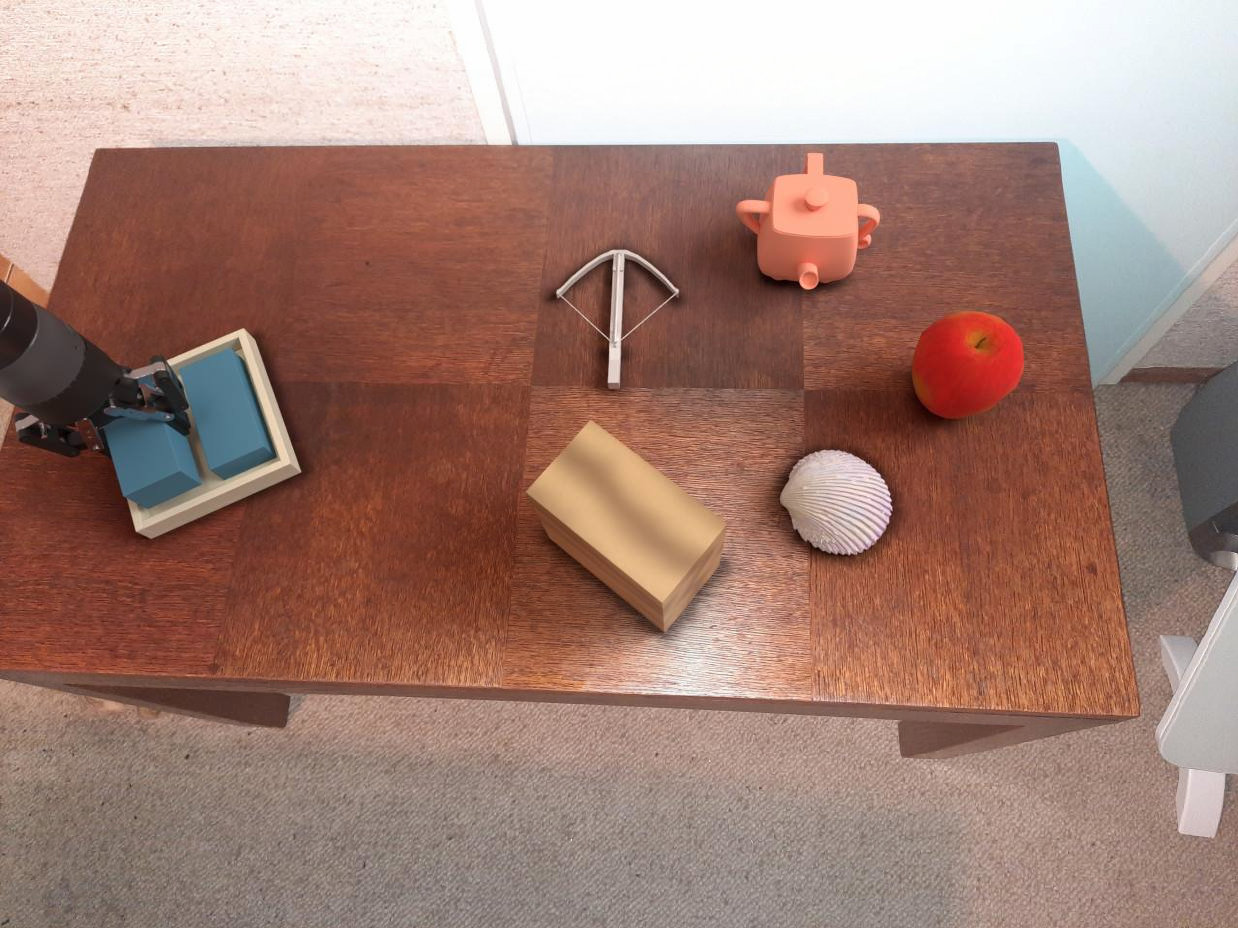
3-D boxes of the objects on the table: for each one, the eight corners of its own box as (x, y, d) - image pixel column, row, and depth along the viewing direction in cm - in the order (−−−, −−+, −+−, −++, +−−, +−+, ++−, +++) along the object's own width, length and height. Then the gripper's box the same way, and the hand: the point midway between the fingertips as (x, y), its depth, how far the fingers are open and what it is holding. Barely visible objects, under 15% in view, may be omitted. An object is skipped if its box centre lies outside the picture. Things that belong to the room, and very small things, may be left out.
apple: (1005, 374, 84) (1056, 311, 72) (976, 452, 81) (1024, 400, 70) (913, 339, 86) (949, 273, 74) (882, 415, 83) (914, 358, 72)
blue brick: (225, 480, 84) (209, 470, 82) (194, 382, 88) (178, 369, 86) (277, 457, 85) (263, 446, 82) (244, 360, 89) (230, 347, 86)
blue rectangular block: (148, 509, 82) (122, 496, 78) (117, 408, 86) (92, 391, 82) (202, 484, 82) (180, 470, 78) (169, 384, 86) (146, 366, 82)
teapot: (798, 325, 87) (812, 273, 78) (725, 247, 91) (730, 188, 82) (884, 265, 89) (908, 207, 80) (809, 190, 92) (824, 127, 83)
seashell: (774, 440, 79) (886, 430, 77) (780, 461, 84) (886, 452, 82) (779, 546, 76) (898, 539, 73) (786, 561, 81) (897, 556, 78)
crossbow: (561, 259, 92) (559, 247, 90) (679, 258, 91) (679, 246, 90) (551, 389, 86) (548, 379, 84) (677, 389, 85) (677, 379, 83)
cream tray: (151, 539, 83) (135, 531, 81) (113, 400, 89) (97, 389, 87) (301, 472, 85) (290, 463, 82) (255, 339, 90) (243, 327, 88)
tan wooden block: (664, 633, 77) (662, 603, 64) (549, 538, 81) (524, 492, 68) (719, 565, 79) (727, 523, 66) (604, 476, 83) (590, 419, 70)
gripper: (-47, 436, 66) (93, 503, 82) (132, 361, 67) (235, 441, 83) (-61, 359, 69) (77, 438, 84) (111, 288, 70) (215, 379, 86)
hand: (155, 439), depth 84 cm, fingers closed on blue rectangular block, 5 cm apart
